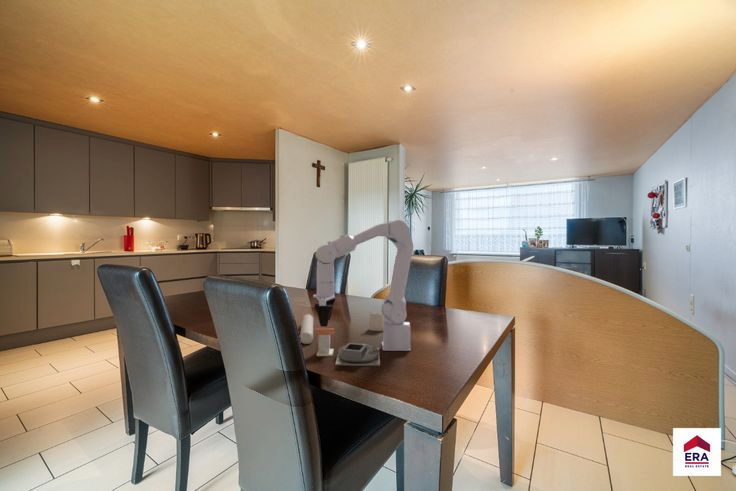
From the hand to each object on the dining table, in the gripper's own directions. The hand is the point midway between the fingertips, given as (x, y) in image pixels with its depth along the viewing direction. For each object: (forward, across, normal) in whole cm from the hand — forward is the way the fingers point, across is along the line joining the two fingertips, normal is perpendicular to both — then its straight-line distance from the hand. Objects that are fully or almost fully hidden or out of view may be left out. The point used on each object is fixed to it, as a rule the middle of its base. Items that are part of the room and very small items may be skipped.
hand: (325, 322), depth 104 cm
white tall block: (+10, 0, 0) cm, 10 cm away
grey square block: (+11, -26, +17) cm, 33 cm away
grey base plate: (+10, +3, +11) cm, 15 cm away
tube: (+11, -20, -10) cm, 25 cm away
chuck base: (+10, +3, +11) cm, 15 cm away
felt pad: (+10, 0, 0) cm, 10 cm away
